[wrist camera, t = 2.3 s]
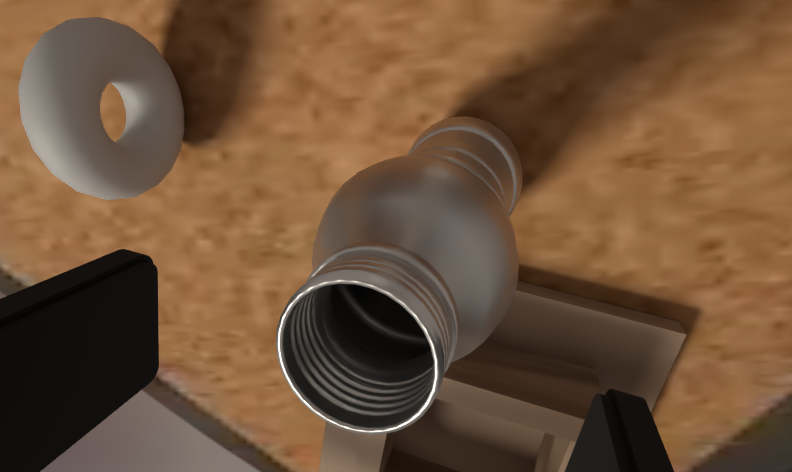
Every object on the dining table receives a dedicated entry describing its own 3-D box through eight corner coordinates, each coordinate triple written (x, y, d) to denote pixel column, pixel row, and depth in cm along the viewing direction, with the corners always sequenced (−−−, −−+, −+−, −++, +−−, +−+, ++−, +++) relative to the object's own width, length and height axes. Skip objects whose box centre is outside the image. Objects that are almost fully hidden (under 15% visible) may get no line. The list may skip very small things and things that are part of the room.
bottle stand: (358, 239, 31) (318, 278, 25) (678, 321, 27) (721, 390, 21) (325, 463, 38) (289, 534, 32) (575, 551, 35) (586, 650, 29)
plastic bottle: (530, 116, 26) (546, 217, 8) (514, 231, 28) (498, 523, 10) (416, 108, 27) (198, 178, 9) (410, 219, 30) (226, 454, 11)
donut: (205, 182, 33) (80, 224, 23) (162, 178, 33) (26, 217, 24) (187, 26, 29) (33, 3, 20) (140, 25, 30) (-28, 4, 21)
